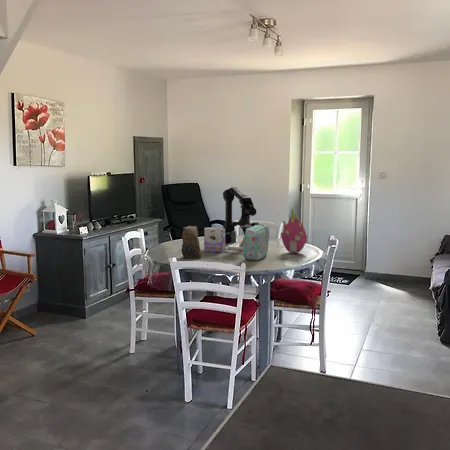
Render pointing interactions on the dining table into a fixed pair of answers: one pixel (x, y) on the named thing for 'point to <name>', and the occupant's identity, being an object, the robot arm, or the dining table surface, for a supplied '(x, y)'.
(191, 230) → the owl
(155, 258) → the dining table surface
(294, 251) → the pink dragon fruit
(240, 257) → the dining table surface
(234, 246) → the panel
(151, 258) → the dining table surface
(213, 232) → the candy box
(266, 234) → the lunch box
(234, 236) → the far post
